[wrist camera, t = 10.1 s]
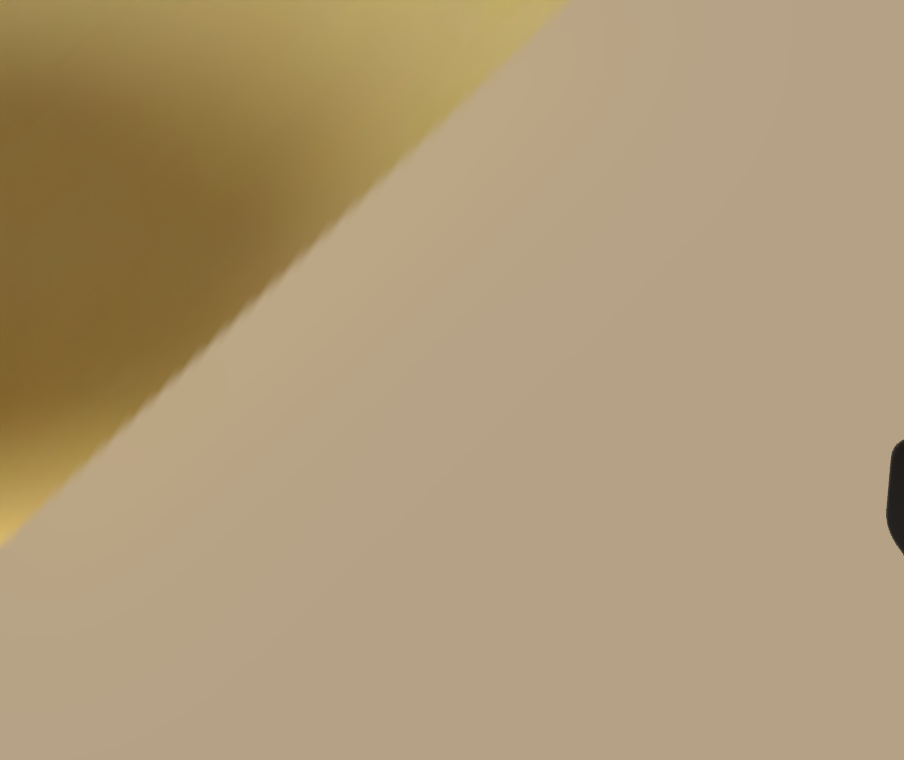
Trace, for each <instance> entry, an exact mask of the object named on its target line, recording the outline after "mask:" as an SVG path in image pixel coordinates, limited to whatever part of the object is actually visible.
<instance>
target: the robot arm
mask: <svg viewBox="0 0 904 760" xmlns="http://www.w3.org/2000/svg"><path fill="white" fill-rule="evenodd" d="M886 518H887V524H888V528H889V531H890V533H891V536H892V538H893V539H894V541H895V543H896V545H897V546H898V547H899V549H900V550H901V552H902V553H903V555H904V440H902V441H901V442H899V443H898V444H897V445H896V446H895V447H894V449H893V451H892V455H891V463H890V474H889V487H888V497H887V509H886Z"/></svg>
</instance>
